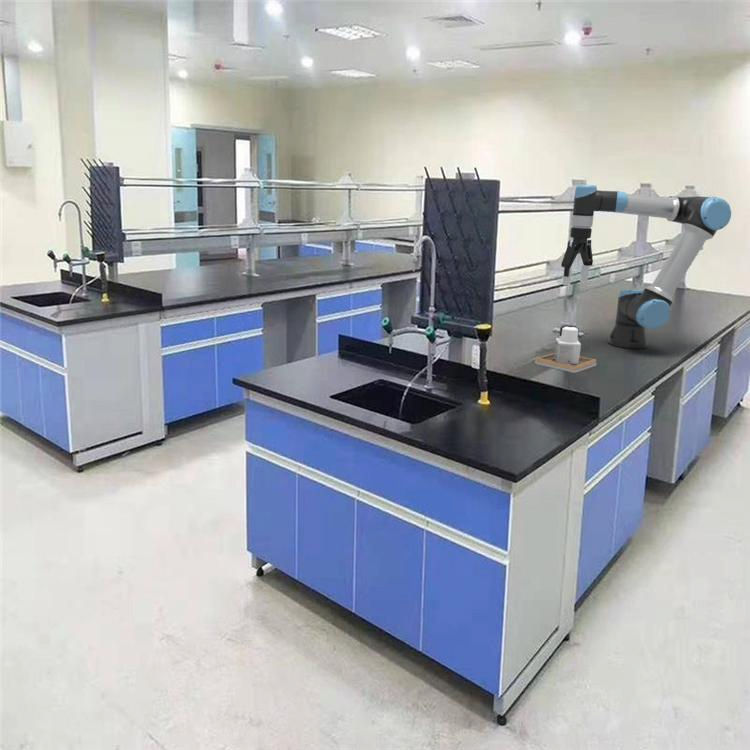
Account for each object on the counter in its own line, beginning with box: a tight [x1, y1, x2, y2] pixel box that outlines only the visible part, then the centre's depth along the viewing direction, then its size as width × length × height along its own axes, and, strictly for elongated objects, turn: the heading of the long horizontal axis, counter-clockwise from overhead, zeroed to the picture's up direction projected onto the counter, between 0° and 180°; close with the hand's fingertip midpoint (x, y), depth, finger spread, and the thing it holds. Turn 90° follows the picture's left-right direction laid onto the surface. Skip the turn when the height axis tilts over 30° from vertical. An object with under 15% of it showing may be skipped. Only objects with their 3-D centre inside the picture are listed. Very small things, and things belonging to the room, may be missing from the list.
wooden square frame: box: [534, 352, 597, 374], centre depth 255 cm, size 16×16×2 cm
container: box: [553, 325, 582, 364], centre depth 253 cm, size 8×8×13 cm
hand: (575, 283), depth 268 cm, fingers open, 13 cm apart
